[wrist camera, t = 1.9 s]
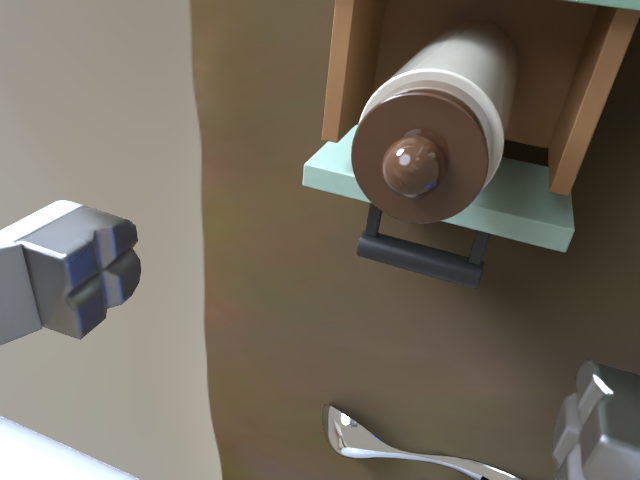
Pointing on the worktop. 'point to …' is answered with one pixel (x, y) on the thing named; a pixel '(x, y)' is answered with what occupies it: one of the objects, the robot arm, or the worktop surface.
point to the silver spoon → (364, 445)
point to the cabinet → (612, 3)
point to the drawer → (524, 124)
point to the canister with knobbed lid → (438, 125)
